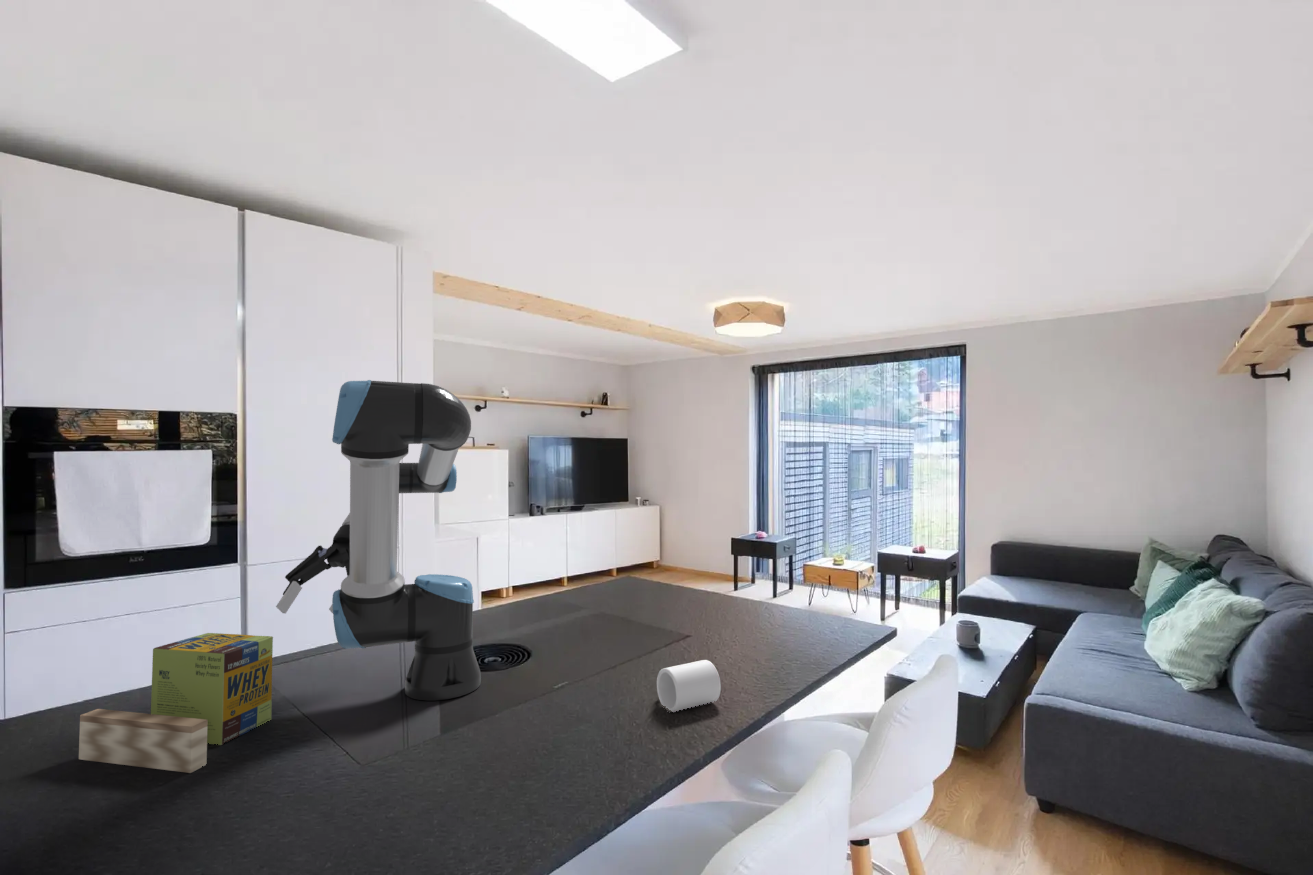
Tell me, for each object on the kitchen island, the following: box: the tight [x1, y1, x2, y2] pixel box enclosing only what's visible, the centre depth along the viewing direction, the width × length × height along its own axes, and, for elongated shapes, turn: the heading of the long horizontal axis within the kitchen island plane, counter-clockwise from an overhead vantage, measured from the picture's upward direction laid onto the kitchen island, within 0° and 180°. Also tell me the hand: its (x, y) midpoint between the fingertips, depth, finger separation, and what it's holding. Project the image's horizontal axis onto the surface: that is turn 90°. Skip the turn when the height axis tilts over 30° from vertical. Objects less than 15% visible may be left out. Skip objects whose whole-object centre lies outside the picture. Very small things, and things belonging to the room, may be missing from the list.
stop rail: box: [78, 708, 208, 774], centre depth 97 cm, size 22×3×7 cm, turn 78°
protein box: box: [150, 632, 274, 746], centre depth 109 cm, size 10×15×16 cm
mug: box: [656, 659, 722, 713], centre depth 120 cm, size 12×10×8 cm
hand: (306, 611), depth 130 cm, fingers open, 12 cm apart
